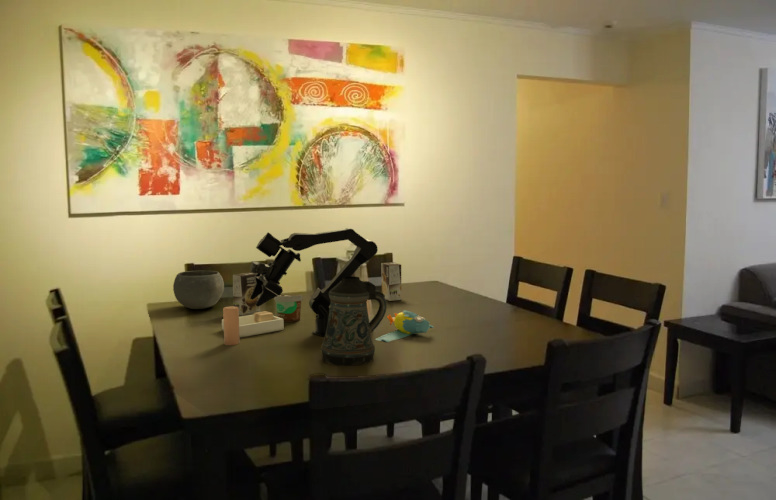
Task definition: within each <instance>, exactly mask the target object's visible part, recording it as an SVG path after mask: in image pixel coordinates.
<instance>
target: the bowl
mask: <svg viewBox="0 0 776 500" xmlns="http://www.w3.org/2000/svg"><path fill="white" fill-rule="evenodd" d="M172 287H173V289H172V290H173V294H174V298H175V299H176V300H177V301H178V303H180V305H182V306H184V307H186V308H187V309H191V310H204V309H207V308H211V307H213V306H214V305H216V304H217V303H218V302H219V300H220V299H221V297H222V295H223V293H224V290H225V282H224V279H223V276H222V275H221V273H220V272H219V271H215V270H190V271H189V270H188V271H187V270H185V271H181V272H179V273H178V274H176V275H175V278H174V281H173V285H172Z"/></svg>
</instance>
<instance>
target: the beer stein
mask: <svg viewBox="0 0 776 500" xmlns="http://www.w3.org/2000/svg"><path fill="white" fill-rule="evenodd" d="M329 298H330V300H331V304H330V306H329V307H330V310H329V318H328V324H327V330H326V334H325V336H324V337H323V341H322V344H321V346H320V350H321V357H322V361H323V362H324V363H327V364H329V365H335V366H343V367H344V366H350V367H351V366H360V365H365V364H368V363H370V362H372V361H373V360H374V356H375V350H376V348H375V344H374V342H373V339H372V335H371V333H373V332H374V330H376V329H377V328H378V326H379V325H380V324H381V322H382V320H383V319H384V317H385V315H386V312H387V308H388V307H387V306H388V303H387V300H386V299H385V295H384V294H383V293H382V292H381V291H379V290H377V288H376V284H374V283H372V282H370V281H365V280H364V281H363V280H361V279H360V277H359V276H351V277H343V278H342V281H341V282H340V283H338V284H337V285H336V286H335V287H333V288H332V289H331V290H330V291H329ZM372 300H375V301H377V302H378V305H379V306H378V309H377V312H376V313H375V315H374V316H373V318H372V319H371V320H370V317H369V310H368V303H367V302H368V301H372Z"/></svg>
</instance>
